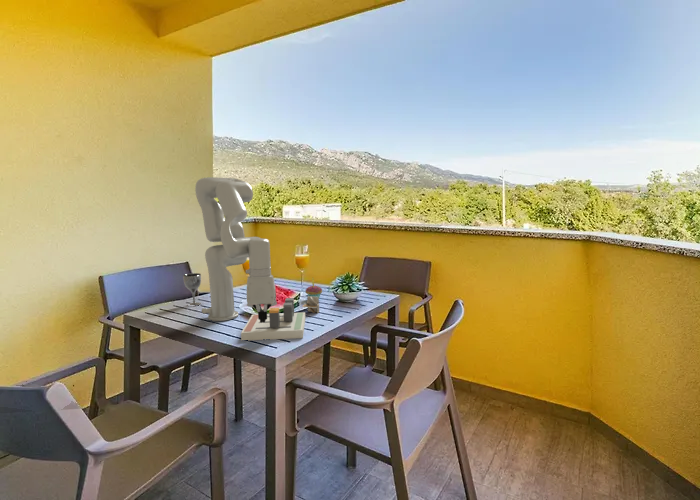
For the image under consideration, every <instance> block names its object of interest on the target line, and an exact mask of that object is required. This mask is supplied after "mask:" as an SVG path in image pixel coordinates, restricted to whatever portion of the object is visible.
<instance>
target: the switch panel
mask: <svg viewBox="0 0 700 500" xmlns="http://www.w3.org/2000/svg"><path fill="white" fill-rule="evenodd" d="M282 309H283V313H281V312H279V315H280V326H279V328H270V318H269V313H267V319H266V321H265V322H261V323H260V320H259V319H258V313H256V314H251V316H250V318H248V321H247V323H246V324H245V326H244V327H243V328H242V331H241V332H240V337H241V338H240V339H241V341H242V340H248V341H264V340H263V339H265V341H267V340H266V339H270V340H283V339H284V340H287V339H288V340H290V339H304V334H305V327H306V326H305V325H306V312H295V301H294V297H286V298H285V299H284V303H283V307H282ZM242 342H243V341H242Z"/></svg>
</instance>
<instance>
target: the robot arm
mask: <svg viewBox="0 0 700 500" xmlns="http://www.w3.org/2000/svg"><path fill="white" fill-rule="evenodd" d="M194 189H195V190H194V191H195V196H196V199H197V202H198V204H199V207H200V210H201V213H202V218H203V219H202V220H203V225H204V231H205V232H204V233H205V236H206V239H207V240H208V241H209V242H210V243H221V244H216V245H211V246H209V247H208V248H207V249H206V250H205V253H204V256H205V257H204V259H205V261H206V267H207V272H208V279H209V280H208V281H209V296H210V307H209V308H207V307H203V308H201V313H202V314H204V315H205V314H208V315H207V319H208V320H210V321H211V320H212V322H223V321H224V322H225V321H230V320H234V319H236V318H238V316H239V312H238V311H236V309H235V297H234V296H235V295H234V294H235V292H234V282H233V275H232V273H231V272H230V271H229V270H228V268H227V267H233V266H238V265H243V264H244V263H246V262H247V260H248V261H249V263H248V264H249V268H248V269H245V275H248V277H247V280H246V307H249V308H253V309H254V310H255V311H256V312H257V314H258V319H259V320H260V323H261V322H265V321H266V319H267V314H268V310H270V308H272V307H274V306H277V304H278V302H277V292H276V291H277V290H276V283H275V279H274V275H273V274H272V266H271V262H272V261H271V244H270V240H269V238H261V237H259V236H245V230H244V227H243V226H244V225H243V224H242V222H243V220H245V219H246V217H247V216H248V211H247V208H246V206H245V204H244V203H249V202H251V201H252V199H253V197H254V191H253V188H252V185H250V184H249V182H247V181H244V180H242V179H238V178H234V177H217V176H216V177H213V176H212V177H211V176H210V177H209V176H208V177H202V178H200V179H198V180H197V181H196V183H195V188H194ZM216 199H217V200H218V201H217V200H216ZM261 305H263V307H262V306H261Z"/></svg>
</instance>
